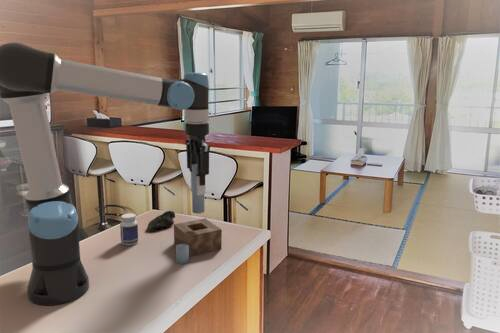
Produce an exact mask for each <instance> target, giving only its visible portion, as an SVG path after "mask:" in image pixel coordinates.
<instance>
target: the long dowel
mask: <svg viewBox="0 0 500 333" xmlns="http://www.w3.org/2000/svg"><path fill="white" fill-rule="evenodd" d="M196 174H198V169H197V164H192V191H191V196H192V197H191V198H192V199H191V200H192V202H191V203H192V207H191V208H192V210H191V211H192V213H193V214H203V213H205V194H203V195H197V176H196Z"/></svg>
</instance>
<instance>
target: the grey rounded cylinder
mask: <svg viewBox="0 0 500 333" xmlns="http://www.w3.org/2000/svg"><path fill="white" fill-rule="evenodd" d="M189 261H190V256H189V245H187V244H178V245H175V262H176V263H177V264H179V265H185V264H188V263H190V262H189Z"/></svg>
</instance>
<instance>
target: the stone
mask: <svg viewBox="0 0 500 333" xmlns="http://www.w3.org/2000/svg"><path fill="white" fill-rule="evenodd" d="M175 218H176V213H175V211H174V210H172V211H171V210H167V211H165V212H163V213H162V214H159V215H158V216H156V217H155V218H153V219H151V220H149V222H148V224H147V228H146V230H147V232H148V233H151V232H154V231H155V230H156V229H159V228H163V227H164V228H169V227H172V226H174V223H175V222H174V219H175Z"/></svg>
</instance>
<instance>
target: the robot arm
mask: <svg viewBox="0 0 500 333" xmlns="http://www.w3.org/2000/svg"><path fill="white" fill-rule="evenodd" d="M56 91H63V92H67V93H73V94H82V95H86V96H93V97H98V98H99V97H101V98H107V99H113V100H119V101H126V102H133V103H139V104H146V105H152V106H159V107H162V108H163V107H165V108H171V109H173V110H176V111H181V110H182V111H183V110H184V122H185V124H184V125H185V128H184V129H185V130H184V131H185V132H184V133H185V135H187V136H189V138H187V139H186V138H185V146H186V147H185V149H186V168H187V169H189V172H190V192H192V164H197V169H198V174H196V176H197V195H203V194H204V195H206V176H207V175H210V149H211V145H210V144H207V142H206V136H207V135H209V133H210V124H209V118H210V117H209V114H210V109H209V108H210V107H209V103H210V102H209V100H210V99H209V95H210V93H209V92H210V83H209V76H208V74H207V73H205V72H185V73H184V74H183V78H181V79H171V78H170V79H168V78H162V77H156V76H154V75H153V76H152V75H147V74H142V73H138V72H137V73H136V72H131V71H127V70H120V69H115V68H111V67H110V68H109V67H104V66H99V65H94V64H90V63H89V64H88V63H84V62H83V63H82V62H79V61H78V62H77V61H72V60H68V59H62V58H60V57H59V56H58V55H57V54H56V53H52V52H48V51H43V50H40V49H36V48H34V47H31V46H29V45H27V44H24V43H21V42H7V43H3V44H1V45H0V100H1V101H3V102H4V103H6V104H7V105H8V106H9V111H10V116H11V119H12V123H13V127H14V130H15V136H16V140H17V144H18V147H19V148H18V149H19V152H20V156H21V161H22V164H23V167H24V168H23V169H24V174H25V177H26V183H27V185H28V191H27V192H26V194H25V195H24V198H25V203H26V208H27V211H28V212H27V213H28V215H27V221H26V223H27V229H28V236H29V245H30V246H29V247H30V255H31V262H32V270H31V273H30V277H29V281H28V285H27V298H28V300H29V301H30V302H31V303H33V304H36V305H40V306H56V305H62V304H66V303H70V302H72V301H74V300H76V299H78V298H80V297H82V296H83V295H85V294H86V293H87V292H88V291H89V288H90V280H89V279H90V278H89V275H88V274H87V272H86V269H85V267H84V264H83V263H82V260H81V252H80V251H81V249H80V237H79V236H80V235H79V216H78V213H77V209H76V207H75V206H74V203H73V201H72V195H71V191H70V187H69V186H68V185H67V184H64V183H63V180H62V176H61V171H60V168H59V162H58V158H57V154H56V149H55V144H54V139H53V134H52V130H51V125H50V120H49V116H48V111H47V106H46V103H45V102H46V101H45V99H46V98H47V96H49V94H52V93H54V92H56Z"/></svg>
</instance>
